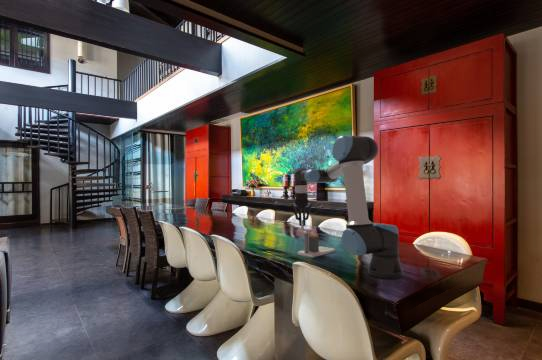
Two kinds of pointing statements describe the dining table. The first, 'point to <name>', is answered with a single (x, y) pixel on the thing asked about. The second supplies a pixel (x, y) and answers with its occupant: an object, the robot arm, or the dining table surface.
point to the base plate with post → (313, 254)
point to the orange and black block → (313, 243)
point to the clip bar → (302, 230)
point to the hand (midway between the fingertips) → (302, 231)
